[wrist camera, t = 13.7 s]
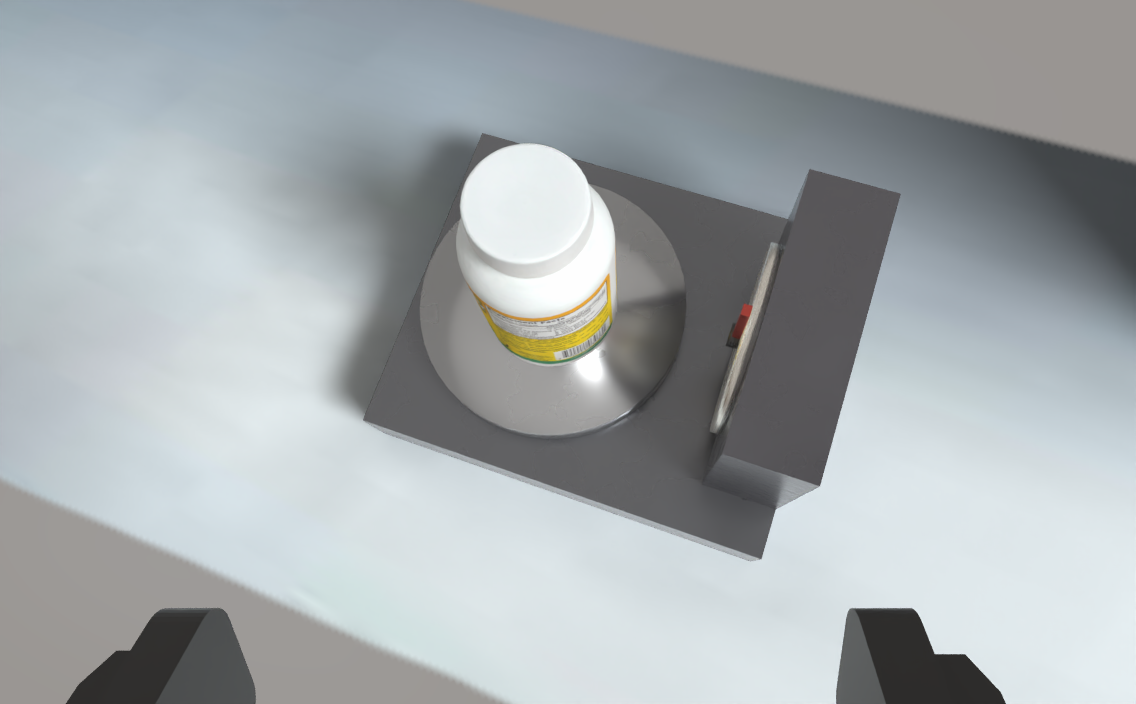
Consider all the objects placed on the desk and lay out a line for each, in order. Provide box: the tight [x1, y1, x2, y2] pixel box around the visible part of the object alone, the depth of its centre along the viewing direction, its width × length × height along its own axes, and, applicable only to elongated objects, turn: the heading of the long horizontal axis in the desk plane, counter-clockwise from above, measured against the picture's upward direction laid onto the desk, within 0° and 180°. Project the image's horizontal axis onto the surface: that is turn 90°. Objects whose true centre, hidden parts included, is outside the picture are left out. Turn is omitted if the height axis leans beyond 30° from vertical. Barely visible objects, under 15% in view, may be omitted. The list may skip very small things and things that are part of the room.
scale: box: [363, 133, 900, 561], centre depth 33 cm, size 17×14×11 cm
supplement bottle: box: [456, 143, 617, 366], centre depth 30 cm, size 5×5×10 cm
